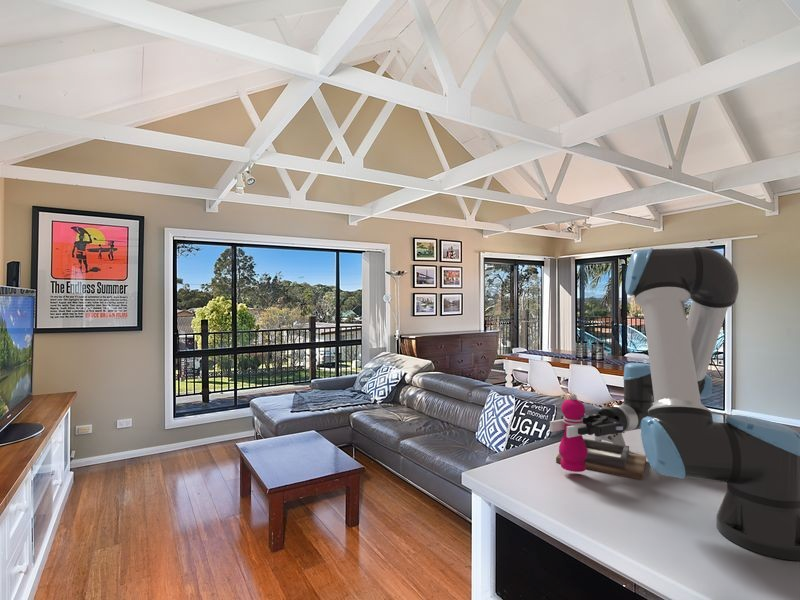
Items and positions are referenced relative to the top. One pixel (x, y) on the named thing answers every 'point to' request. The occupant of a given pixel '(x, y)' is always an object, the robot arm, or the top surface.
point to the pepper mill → (573, 446)
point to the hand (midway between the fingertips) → (559, 429)
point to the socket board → (612, 459)
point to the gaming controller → (611, 438)
